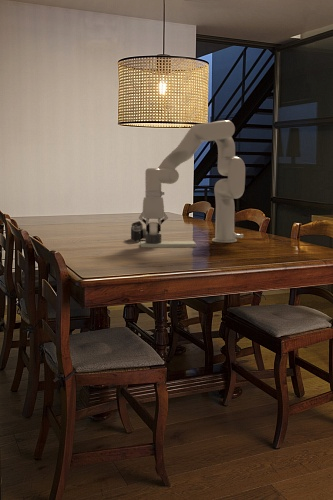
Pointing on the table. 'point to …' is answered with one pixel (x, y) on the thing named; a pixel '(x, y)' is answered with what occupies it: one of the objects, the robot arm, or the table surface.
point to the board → (170, 244)
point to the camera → (138, 232)
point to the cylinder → (153, 228)
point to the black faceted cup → (153, 239)
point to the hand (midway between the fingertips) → (153, 232)
